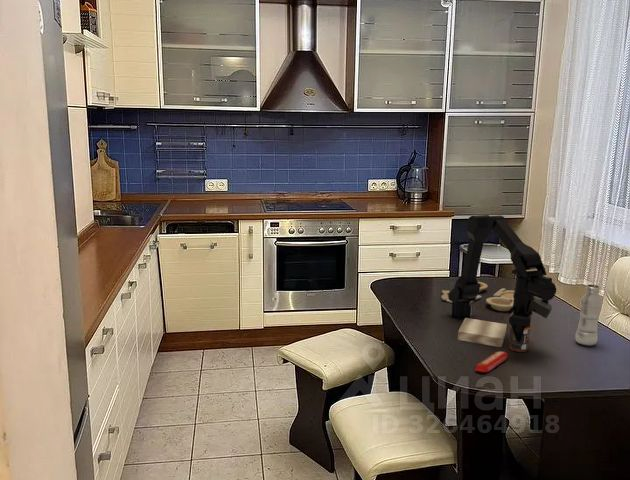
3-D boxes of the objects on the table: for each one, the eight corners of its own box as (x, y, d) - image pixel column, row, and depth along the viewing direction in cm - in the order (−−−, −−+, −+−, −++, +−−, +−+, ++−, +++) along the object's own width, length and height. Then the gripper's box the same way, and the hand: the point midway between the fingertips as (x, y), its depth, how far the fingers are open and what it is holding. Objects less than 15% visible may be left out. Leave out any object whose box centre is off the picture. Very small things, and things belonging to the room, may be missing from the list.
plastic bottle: (570, 340, 191) (577, 283, 186) (589, 340, 191) (597, 283, 187) (580, 348, 185) (588, 289, 180) (600, 347, 185) (609, 289, 181)
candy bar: (497, 356, 178) (498, 347, 178) (508, 360, 176) (509, 350, 175) (473, 373, 167) (473, 363, 166) (484, 377, 164) (485, 367, 164)
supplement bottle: (529, 353, 180) (532, 319, 177) (509, 351, 181) (512, 318, 178) (526, 346, 186) (529, 313, 183) (507, 344, 187) (510, 311, 184)
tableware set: (538, 297, 236) (539, 288, 235) (523, 318, 212) (524, 308, 211) (455, 283, 254) (456, 274, 253) (432, 301, 229) (433, 291, 228)
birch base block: (457, 339, 190) (458, 331, 189) (464, 325, 202) (465, 317, 202) (501, 347, 184) (502, 338, 184) (505, 332, 197) (506, 324, 196)
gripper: (550, 303, 167) (545, 352, 171) (552, 286, 184) (547, 331, 188) (511, 297, 172) (506, 346, 175) (516, 281, 188) (511, 325, 192)
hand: (519, 337), depth 182 cm, fingers open, 7 cm apart
